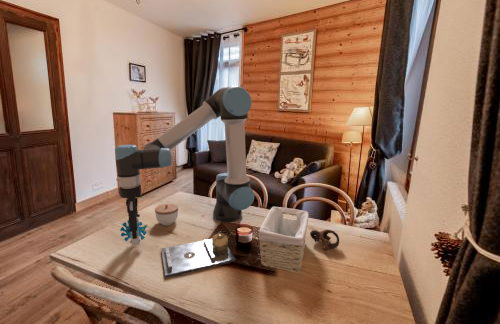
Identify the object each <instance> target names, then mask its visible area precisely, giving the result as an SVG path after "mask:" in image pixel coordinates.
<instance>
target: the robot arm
mask: <svg viewBox="0 0 500 324" xmlns="http://www.w3.org/2000/svg"><path fill="white" fill-rule="evenodd" d="M251 107H252V96H251V95H250V93H249V91H248V90H247V89H245V88H244V87H242V86H240V85H239V86H238V85H230V86H226V87H225V86H224V87H222V88H219V89H218V90H216V91H214V93H213V94H211V95H210V96H209V97H208V98H207V99H205V100H204V101H203V102H202V105H201V106H199V107H198V108H197V109H195V110H194V111H193V112H191V113H190V114H188V115H187V116H186V117H185V118H183V119H182V120H180V121H179V122H177V123H176V124H175V125H173V126H172V127H171V128H169V129H168V130H166V131H165V132H164V133H163V134H161V135H160V136H158V137H157V138H155V139H154V140H152V141H151V142H148V143H146V144H145V145H144V147H143V149H138V146H137V145H136V144H120V145H117V146H116V147H115V148H114V153H115V154H114V156H115V157H114V158H115V166H116V173H117V178H116V181H118V186H119V189H118V190H119V196H120V197H121V198H122V199H125V206H126V211H127V213H128V214H127V215H128V220H129V226H130V230H128V232H129V231H130V234H131V238H130V241H131V242H132V243H131V246H132V247H134V246H139V245H140V244H141V243H140V242H141V241H140V242H139V239H140V236H139V233H138V228H137V224H139V222H140V221H139V220H140V219H139V218H140V217H141V215H140V213H139V211H138V205H139V204H138V201H139V200H138V197H139V196H141V195H142V185H141V182H142V180H141V172H140V170H148V169H160V168H161V169H162V168H163V169H164V168H168V167H171V166H172V164H173V163H172V161H173V160H172V150H173V149H174V148H176V147H177V146H178V145H179V144H181V143H182V142H184V141H185V140H186V139H188V138H189V137H190V136H192V135H193V134H194V133H196V132H198V131H199V130H200V129H202V127H204V126H205V125H207V124H209V122H210V121H212V120H217V119H219V118H220V121H221V122H223V124H224V135H225V137H224V138H225V151H226V153H225V155H226V170H227V172H222V173H219V174H217V175H216V178H215V191H216V194H215V195H216V196H215V197H216V199H215V200H216V202H215V205H214V208H213V211H212V217H213V219H214V220H216V221H219V222H223V223H232V222H236V221H238V220H240V219H241V218H242V217H243V211H244V210H246V209H248V208H249V207H250V206H251V205H252V204H253V202H254V200H255V193H254V191H253V189H252V188H251V178H250V177H249V176H248V175H247V159H246V158H247V157H246V156H247V155H246V154H247V153H246V129H245V123H246V121H247V120H249V119H248V118H249V117H248V116H249V114H248V113H249V111H250V110H251ZM138 226H139V227H140V225H138Z"/></svg>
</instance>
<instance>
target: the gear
mask: <svg viewBox="0 0 500 324" xmlns="http://www.w3.org/2000/svg"><path fill="white" fill-rule="evenodd" d="M127 224H128V225H127ZM138 225H139V226H138ZM137 228H138V233H139V237H140V238H139V242H141V240H145V238H146V237H145V235H147V231H146V229H147V228H148V224H145V225H143V222H142V221H139V224H137ZM128 230H130V226H129V219H128V220H127V222H125V221H124V222H123V223H122V226H121V228H120V229H119V231H121V234H120V236H121V237H124V239H123V240H124V241H125V242H128V241H129V239H130V241H129V243H131V244H132V242H131V234H130V231H129V232H128ZM125 236H126V237H125Z"/></svg>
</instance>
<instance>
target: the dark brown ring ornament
mask: <svg viewBox="0 0 500 324" xmlns="http://www.w3.org/2000/svg"><path fill="white" fill-rule="evenodd" d="M309 234H310V237H311V239H313V240H314V243H317V242H319V241H320V242H321V244H322V245H323V248H322V250H323V251H324V252H328V251H332V250H335V249H337V248H338V246H339V245H340V237H339V235H338V233H337V232H336V231H334V230H332V229H324V230H321V231H318V230H317V229H316V230H314V229H313V230H311V231H310V232H309ZM329 234H333V235H334V236H335V238H336V241H335V242H334V243H333V242H332V243H330V240H331V236H329ZM327 241H328V244H327Z"/></svg>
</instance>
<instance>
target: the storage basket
mask: <svg viewBox="0 0 500 324" xmlns="http://www.w3.org/2000/svg"><path fill="white" fill-rule="evenodd" d="M284 215H289V216H296V220H295V219H286V218H284ZM308 222H309V212H308V211H307V210H301V209H295V208H288V207H283V206H282V207H281V206H280V207H279V206H272V207H271V208H270V210H269V211H268V213H267V214H266V217H265V218H264V220H263V222H262V224H261V226H260V227H259V230H258V233H259V234H258V240H259V248H260V249H259V250H260V251H259V253H260V264H261V265H262V266H264V267H268V266H270V267H269V268H272V267H274V268H273V269H277V270H282V271H286V272H287V271H288V272H291V273H299V272H300V269H301V265H302V263H303V257H304V252H305V248H306V246H305V245H306V235H307V228H308Z"/></svg>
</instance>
